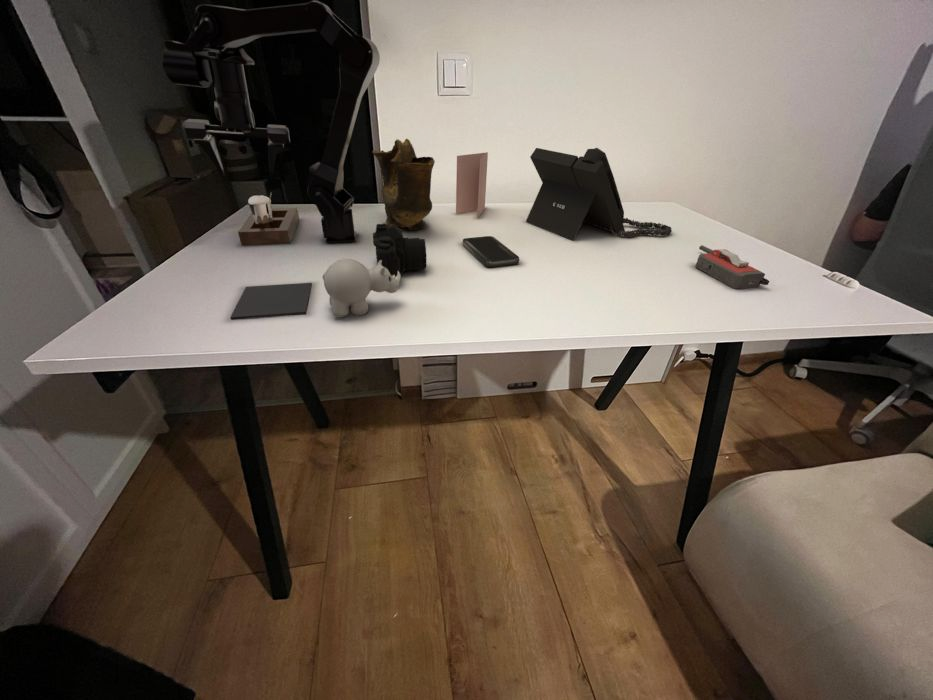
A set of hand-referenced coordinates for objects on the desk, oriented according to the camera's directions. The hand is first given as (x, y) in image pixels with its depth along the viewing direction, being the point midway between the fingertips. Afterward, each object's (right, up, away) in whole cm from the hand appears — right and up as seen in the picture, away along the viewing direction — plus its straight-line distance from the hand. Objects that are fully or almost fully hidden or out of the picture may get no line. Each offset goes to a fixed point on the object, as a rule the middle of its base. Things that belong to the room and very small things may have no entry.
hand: (247, 177), depth 86 cm
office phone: (+82, -4, +22) cm, 85 cm away
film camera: (+34, -22, -7) cm, 41 cm away
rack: (+1, -9, +10) cm, 13 cm away
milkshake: (+2, -11, +7) cm, 13 cm away
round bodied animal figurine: (+30, -30, -20) cm, 47 cm away
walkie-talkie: (+100, -20, -1) cm, 103 cm away
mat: (+15, -29, -19) cm, 37 cm away
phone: (+52, -16, +3) cm, 54 cm away
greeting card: (+50, +2, +29) cm, 58 cm away
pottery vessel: (+32, -5, +17) cm, 36 cm away
